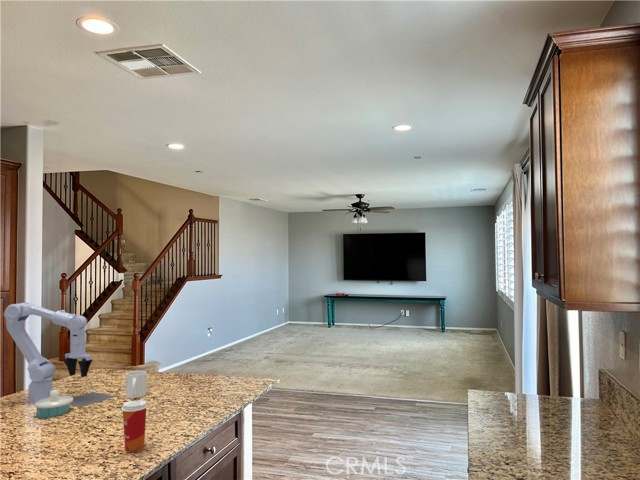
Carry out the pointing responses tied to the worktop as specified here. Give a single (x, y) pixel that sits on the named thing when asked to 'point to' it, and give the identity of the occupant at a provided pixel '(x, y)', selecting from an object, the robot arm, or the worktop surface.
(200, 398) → the worktop surface
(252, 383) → the worktop surface
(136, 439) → the paper cup
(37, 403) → the lid
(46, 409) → the bowl
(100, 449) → the worktop surface
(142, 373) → the mug
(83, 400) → the mat
